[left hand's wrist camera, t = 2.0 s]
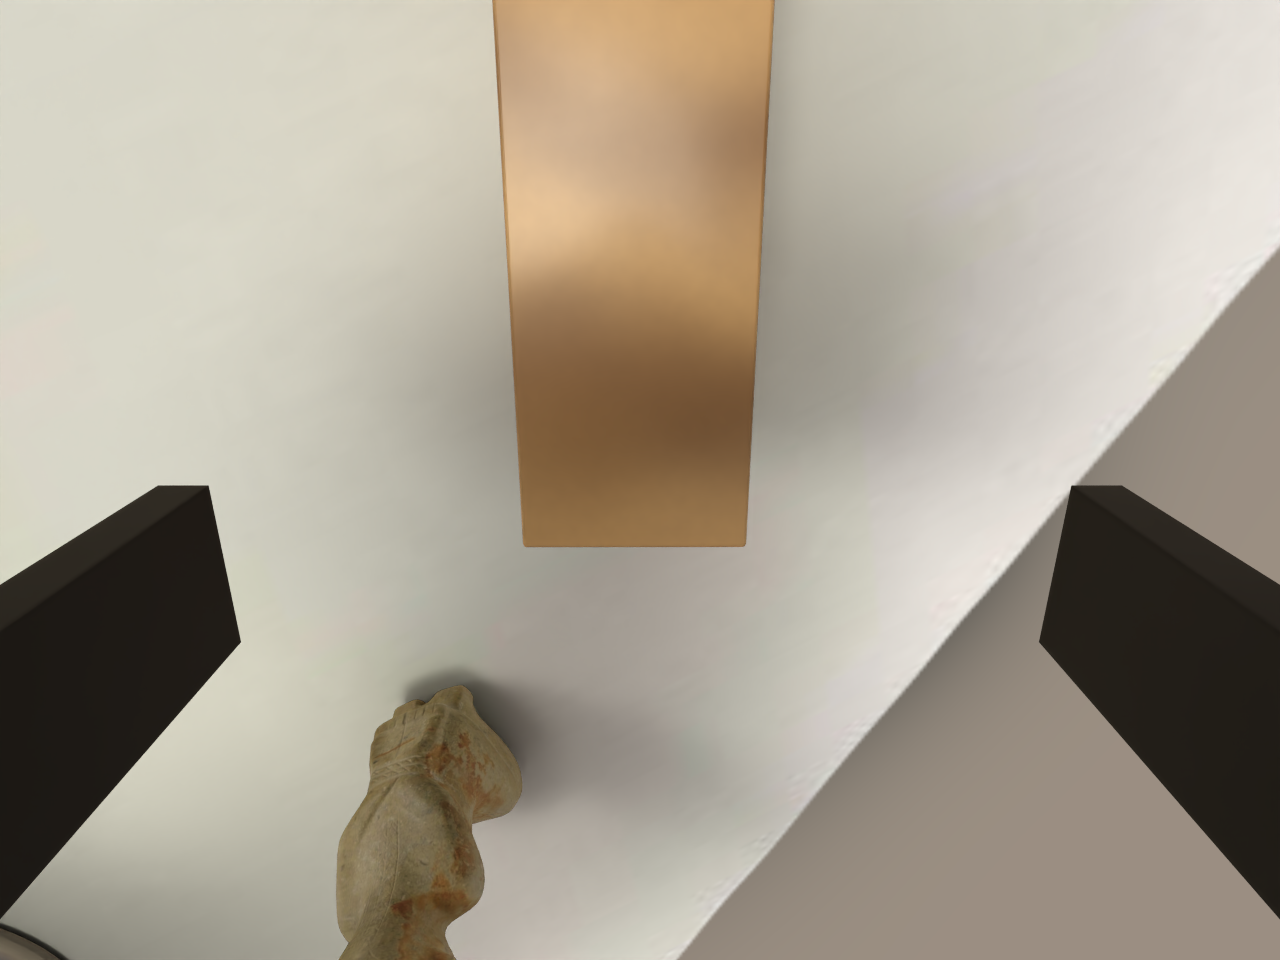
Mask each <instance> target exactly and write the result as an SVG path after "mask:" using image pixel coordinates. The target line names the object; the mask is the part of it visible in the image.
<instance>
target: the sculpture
mask: <svg viewBox="0 0 1280 960" xmlns="http://www.w3.org/2000/svg"><path fill="white" fill-rule="evenodd" d="M369 766H370V778H371V779H370V784H369V788H368V792H367V795H366V797H365V799H364V800H363V802H362V803H361V805H360V807H359V808H358V810H357V811H356V813H355V814H354V816H353V817H352V819H351V820H350V822H349V824H348V825H347V827H346V828H345V830H344V832H343V834H342V836H341V839H340V842H339V847H338V854H337V885H336V900H337V918H338V924H339V928H340V931H341V933H342V934H343V936H344V937H345V939H346V940H347V941H348V942H349V944H348V945H347V947H346V949H345V950H344V952H343V954H342V955H341V957H340V958H339V960H456V958H455V957H454V955H453V953H452V951H451V949H450V947H449V945H448V943H447V940H446V938H445V931H446V928H447V926H448V925H449V924H450V923H451V922H452V921H454V920H455V919H457V918H458V917H460V916H461V915H463V914H464V913H466V912H467V911H469V910H470V909H471V908H472V907H473V906H475V905H476V904H477V902H478V901H479V900H480V898H481V896H482V893H483V889H484V882H485V877H484V867H483V863H482V860H481V857H480V853H479V850H478V848H477V845H476V843H475V840H474V837H473V835H472V824H474V823H477V822H481V821H485V820H488V819H493V818H497V817H500V816H503V815H505V814H507V813H508V812H510V811H511V810H512V809H513V807H514V806H515V804H516V803H517V801H518V799H519V797H520V795H521V792H522V778H521V772H520V769H519V766H518V763H517V761H516V759H515V758H514V756H513V754H512V753H511V751H510V750H509V748H508V747H507V746H506V744H505V743H504V742H503V741H502V740H501V738H500V737H499V736H498V735H497V734H496V733H495V732H494V731H493V730H492V729H491V728H490V727H489V726H488V725H487V724H486V723H485V722H484V721H483V720H482V719H481V718H480V717H479V715H478V714H477V712H476V710H475V708H474V706H473V696H472V694H471V692H470V691H469V690H468V689H467V688H466V687H464V686H462V685H458V686H454V687H450V688H447V689H443V690H441V691H439V692H437V693H436V694H435V696H434V697H433V698H432V699H431V700H430V701H429V702H428V703H425V702H423V701H421V700H418V699H417V700H412V701H410V702H408V703H406V704H404V705H402V706H400V707H398V708H397V709H396V710H395V712H394V715H393V718H392V719H390V720H389V721H387V722H385V723H383V724H382V725H381V726H379V727H378V728H377V730H376V732H375V736H374V741H373V742H372V744H371V752H370V763H369Z"/></svg>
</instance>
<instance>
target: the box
mask: <svg viewBox="0 0 1280 960" xmlns="http://www.w3.org/2000/svg"><path fill="white" fill-rule="evenodd" d="M492 2H493V20H494V37H495V55H496V73H497V90H498V108H499V126H500V143H501V161H502V179H503V197H504V214H505V232H506V250H507V267H508V285H509V303H510V320H511V338H512V356H513V373H514V391H515V409H516V426H517V444H518V462H519V479H520V497H521V515H522V532H523V544H524V546H525V547H743V546H745V544H746V534H747V515H748V496H749V477H750V458H751V439H752V420H753V401H754V382H755V363H756V344H757V325H758V306H759V287H760V268H761V249H762V230H763V211H764V192H765V173H766V155H767V136H768V117H769V98H770V79H771V60H772V41H773V22H774V3H775V0H492Z"/></svg>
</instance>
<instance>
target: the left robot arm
mask: <svg viewBox="0 0 1280 960" xmlns="http://www.w3.org/2000/svg"><path fill="white" fill-rule="evenodd" d="M1039 642H1040V644H1041V645H1042V646H1043V647H1044V648H1045V649H1046V651H1047V652H1048V653H1049V654H1050V655H1051V656H1052V657H1053V659H1054V660H1055V661H1056V662H1057V663H1058V664H1059V666H1060V667H1061V668H1062V669H1063V670H1064V671H1065V672H1066V674H1067V675H1068V676H1069V677H1070V678H1071V679H1072V681H1073V682H1074V683H1075V684H1076V685H1077V686H1078V687H1079V689H1080V690H1081V691H1082V692H1083V693H1084V694H1085V695H1086V697H1087V698H1088V699H1089V700H1090V701H1091V702H1092V704H1093V705H1094V706H1095V707H1096V708H1097V709H1098V710H1099V712H1100V713H1101V714H1102V715H1103V716H1104V717H1105V718H1106V720H1107V721H1108V722H1109V723H1110V724H1111V725H1112V726H1113V728H1114V729H1115V730H1116V731H1117V732H1118V733H1119V735H1120V736H1121V737H1122V738H1123V739H1124V740H1125V741H1126V743H1127V744H1128V745H1129V746H1130V747H1131V748H1132V750H1133V751H1134V752H1135V753H1136V754H1137V755H1138V756H1139V758H1140V759H1141V760H1142V761H1143V762H1144V763H1145V765H1146V766H1147V767H1148V768H1149V769H1150V770H1151V771H1152V773H1153V774H1154V775H1155V776H1156V777H1157V778H1158V779H1159V781H1160V782H1161V783H1162V784H1163V785H1164V786H1165V787H1166V789H1167V790H1168V791H1169V792H1170V793H1171V794H1172V796H1173V797H1174V798H1175V799H1176V800H1177V801H1178V802H1179V804H1180V805H1181V806H1182V807H1183V808H1184V809H1185V811H1186V812H1187V813H1188V814H1189V815H1190V816H1191V817H1192V819H1193V820H1194V821H1195V822H1196V823H1197V824H1198V825H1199V827H1200V828H1201V829H1202V830H1203V831H1204V832H1205V834H1206V835H1207V836H1208V837H1209V838H1210V839H1211V840H1212V842H1213V843H1214V844H1215V845H1216V846H1217V847H1218V848H1219V850H1220V851H1221V852H1222V853H1223V854H1224V855H1225V857H1226V858H1227V859H1228V860H1229V861H1230V862H1231V863H1232V865H1233V866H1234V867H1235V868H1236V869H1237V870H1238V872H1239V873H1240V874H1241V875H1242V876H1243V877H1244V878H1245V880H1246V881H1247V882H1248V883H1249V884H1250V885H1251V886H1252V888H1253V889H1254V890H1255V891H1256V892H1257V893H1258V895H1259V896H1260V897H1261V898H1262V899H1263V900H1264V901H1265V903H1266V904H1267V905H1268V906H1269V907H1270V908H1271V910H1272V911H1273V912H1274V913H1275V914H1276V915H1277V916H1278V918H1279V919H1280V585H1279V584H1278V583H1276V582H1274V581H1273V580H1271V579H1270V578H1268V577H1266V576H1265V575H1263V574H1262V573H1260V572H1259V571H1257V570H1255V569H1254V568H1252V567H1251V566H1249V565H1247V564H1246V563H1244V562H1243V561H1241V560H1239V559H1238V558H1236V557H1235V556H1233V555H1231V554H1230V553H1228V552H1227V551H1225V550H1224V549H1222V548H1220V547H1219V546H1217V545H1216V544H1214V543H1212V542H1211V541H1209V540H1208V539H1206V538H1204V537H1203V536H1201V535H1200V534H1198V533H1196V532H1195V531H1193V530H1192V529H1190V528H1189V527H1187V526H1185V525H1184V524H1182V523H1181V522H1179V521H1177V520H1176V519H1174V518H1173V517H1171V516H1169V515H1168V514H1166V513H1165V512H1163V511H1161V510H1160V509H1158V508H1157V507H1155V506H1154V505H1152V504H1150V503H1149V502H1147V501H1146V500H1144V499H1142V498H1141V497H1139V496H1138V495H1136V494H1134V493H1133V492H1131V491H1130V490H1128V489H1126V488H1125V487H1123V486H1071V490H1070V495H1069V500H1068V505H1067V510H1066V515H1065V519H1064V524H1063V529H1062V534H1061V539H1060V544H1059V548H1058V553H1057V558H1056V563H1055V568H1054V573H1053V577H1052V582H1051V587H1050V592H1049V597H1048V602H1047V606H1046V611H1045V616H1044V621H1043V626H1042V631H1041V635H1040V640H1039ZM240 643H241V640H240V635H239V630H238V626H237V621H236V616H235V611H234V606H233V601H232V597H231V592H230V587H229V582H228V577H227V572H226V568H225V563H224V558H223V553H222V548H221V544H220V539H219V534H218V529H217V524H216V519H215V515H214V510H213V505H212V500H211V495H210V490H209V486H157V487H155V488H154V489H152V490H150V491H149V492H147V493H146V494H144V495H142V496H141V497H139V498H138V499H136V500H134V501H133V502H131V503H130V504H128V505H126V506H125V507H123V508H122V509H120V510H119V511H117V512H115V513H114V514H112V515H111V516H109V517H107V518H106V519H104V520H103V521H101V522H99V523H98V524H96V525H95V526H93V527H91V528H90V529H88V530H87V531H85V532H84V533H82V534H80V535H79V536H77V537H76V538H74V539H72V540H71V541H69V542H68V543H66V544H64V545H63V546H61V547H60V548H58V549H56V550H55V551H53V552H52V553H50V554H49V555H47V556H45V557H44V558H42V559H41V560H39V561H37V562H36V563H34V564H33V565H31V566H29V567H28V568H26V569H25V570H23V571H21V572H20V573H18V574H17V575H15V576H14V577H12V578H10V579H9V580H7V581H6V582H4V583H2V584H1V585H0V919H1V918H2V916H3V915H4V914H5V913H6V912H7V911H8V910H9V908H10V907H11V906H12V905H13V904H14V903H15V901H16V900H17V899H18V898H19V897H20V896H21V895H22V893H23V892H24V891H25V890H26V889H27V888H28V887H29V885H30V884H31V883H32V882H33V881H34V880H35V878H36V877H37V876H38V875H39V874H40V873H41V872H42V870H43V869H44V868H45V867H46V866H47V865H48V863H49V862H50V861H51V860H52V859H53V858H54V857H55V855H56V854H57V853H58V852H59V851H60V850H61V849H62V847H63V846H64V845H65V844H66V843H67V842H68V840H69V839H70V838H71V837H72V836H73V835H74V834H75V832H76V831H77V830H78V829H79V828H80V827H81V826H82V824H83V823H84V822H85V821H86V820H87V819H88V817H89V816H90V815H91V814H92V813H93V812H94V811H95V809H96V808H97V807H98V806H99V805H100V804H101V802H102V801H103V800H104V799H105V798H106V797H107V796H108V794H109V793H110V792H111V791H112V790H113V789H114V788H115V786H116V785H117V784H118V783H119V782H120V781H121V779H122V778H123V777H124V776H125V775H126V774H127V773H128V771H129V770H130V769H131V768H132V767H133V766H134V765H135V763H136V762H137V761H138V760H139V759H140V758H141V756H142V755H143V754H144V753H145V752H146V751H147V750H148V748H149V747H150V746H151V745H152V744H153V743H154V742H155V740H156V739H157V738H158V737H159V736H160V735H161V733H162V732H163V731H164V730H165V729H166V728H167V727H168V725H169V724H170V723H171V722H172V721H173V720H174V718H175V717H176V716H177V715H178V714H179V713H180V712H181V710H182V709H183V708H184V707H185V706H186V705H187V704H188V702H189V701H190V700H191V699H192V698H193V697H194V695H195V694H196V693H197V692H198V691H199V690H200V689H201V687H202V686H203V685H204V684H205V683H206V682H207V681H208V679H209V678H210V677H211V676H212V675H213V674H214V672H215V671H216V670H217V669H218V668H219V667H220V666H221V664H222V663H223V662H224V661H225V660H226V659H227V657H228V656H229V655H230V654H231V653H232V652H233V651H234V649H235V648H236V647H237V646H238V645H239V644H240ZM0 960H60V959H58V958H57V957H56V956H54V955H53V954H51V953H50V952H48V951H47V950H45V949H44V948H42V947H40V946H38V945H37V944H35V943H33V942H31V941H29V940H27V939H25V938H23V937H21V936H18V935H16V934H14V933H11V932H9V931H6V930H4V929H1V928H0Z"/></svg>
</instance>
